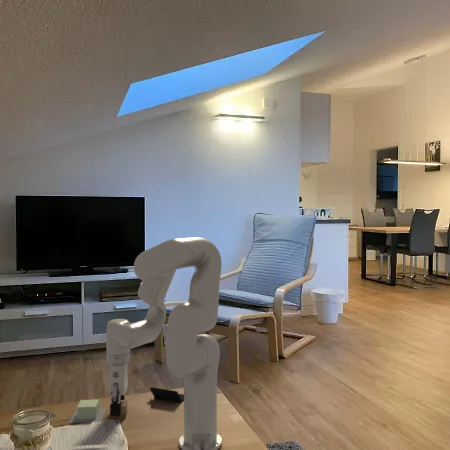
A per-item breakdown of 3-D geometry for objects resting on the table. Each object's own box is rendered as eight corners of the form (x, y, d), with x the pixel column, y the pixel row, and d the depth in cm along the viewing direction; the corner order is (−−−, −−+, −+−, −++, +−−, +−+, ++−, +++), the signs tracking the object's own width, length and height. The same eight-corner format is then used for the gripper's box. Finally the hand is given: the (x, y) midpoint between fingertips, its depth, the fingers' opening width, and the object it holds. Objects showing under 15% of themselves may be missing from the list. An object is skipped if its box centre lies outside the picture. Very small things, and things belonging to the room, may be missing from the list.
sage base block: (95, 418, 150) (95, 406, 150) (76, 419, 149) (76, 407, 149) (99, 411, 156) (99, 399, 156) (80, 411, 155) (80, 400, 155)
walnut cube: (125, 421, 150) (125, 405, 150) (109, 421, 150) (109, 406, 150) (127, 414, 155) (127, 399, 155) (112, 415, 155) (112, 400, 155)
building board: (101, 423, 148) (101, 421, 148) (69, 425, 147) (69, 422, 147) (106, 410, 158) (106, 408, 158) (76, 412, 157) (76, 409, 157)
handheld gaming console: (189, 390, 172) (181, 375, 167) (186, 408, 167) (178, 393, 161) (160, 392, 175) (151, 377, 169) (156, 410, 169) (147, 395, 163)
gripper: (126, 366, 144) (126, 420, 145) (132, 349, 161) (131, 398, 162) (102, 366, 143) (101, 421, 144) (110, 349, 161) (110, 398, 161)
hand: (117, 409), depth 153 cm, fingers open, 9 cm apart
